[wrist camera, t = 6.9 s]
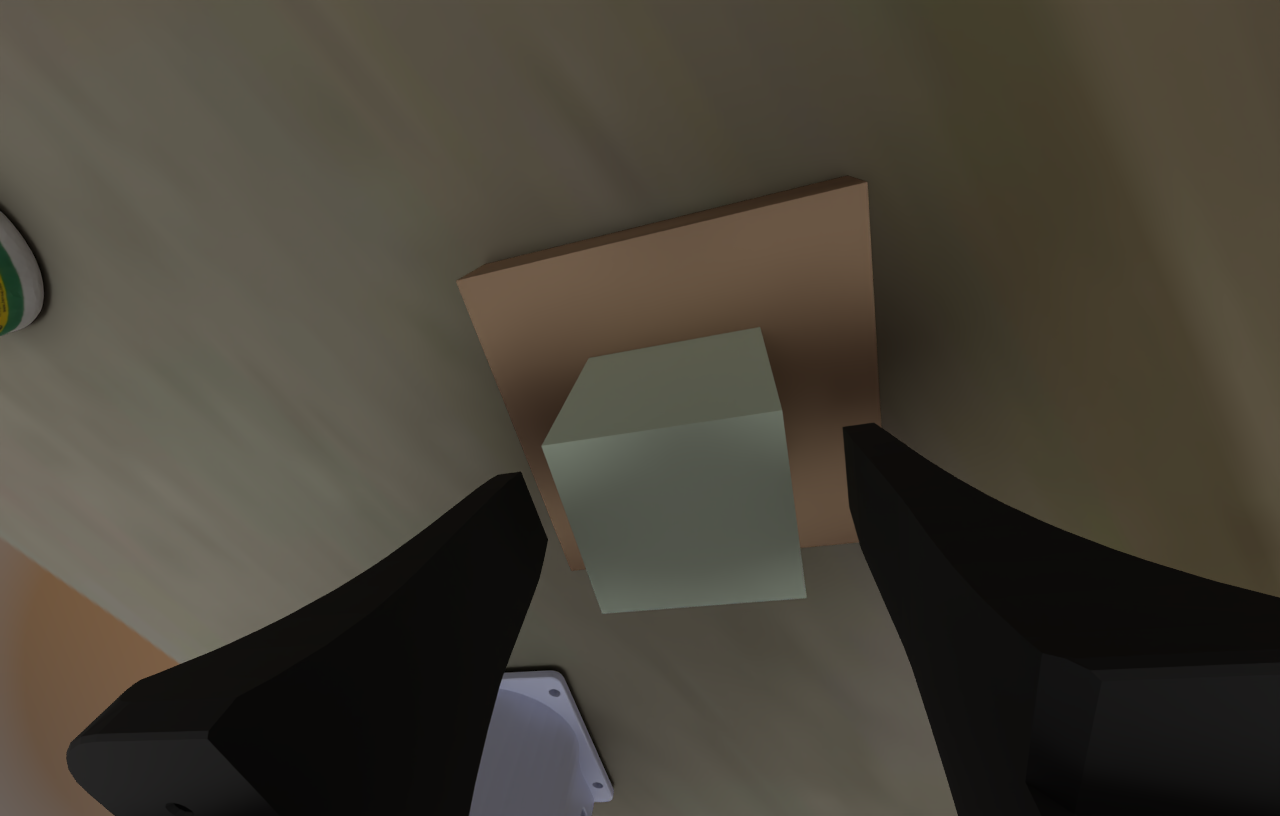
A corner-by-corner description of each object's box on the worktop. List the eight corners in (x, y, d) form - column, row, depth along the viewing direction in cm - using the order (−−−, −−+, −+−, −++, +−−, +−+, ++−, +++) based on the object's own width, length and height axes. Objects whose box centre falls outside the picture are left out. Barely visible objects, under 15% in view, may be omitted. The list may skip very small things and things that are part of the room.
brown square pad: (866, 488, 18) (887, 539, 16) (587, 522, 20) (571, 570, 18) (842, 174, 14) (867, 181, 11) (492, 260, 16) (455, 280, 14)
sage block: (780, 475, 15) (806, 597, 11) (628, 494, 16) (602, 613, 12) (760, 327, 13) (782, 410, 9) (588, 357, 14) (541, 445, 10)
